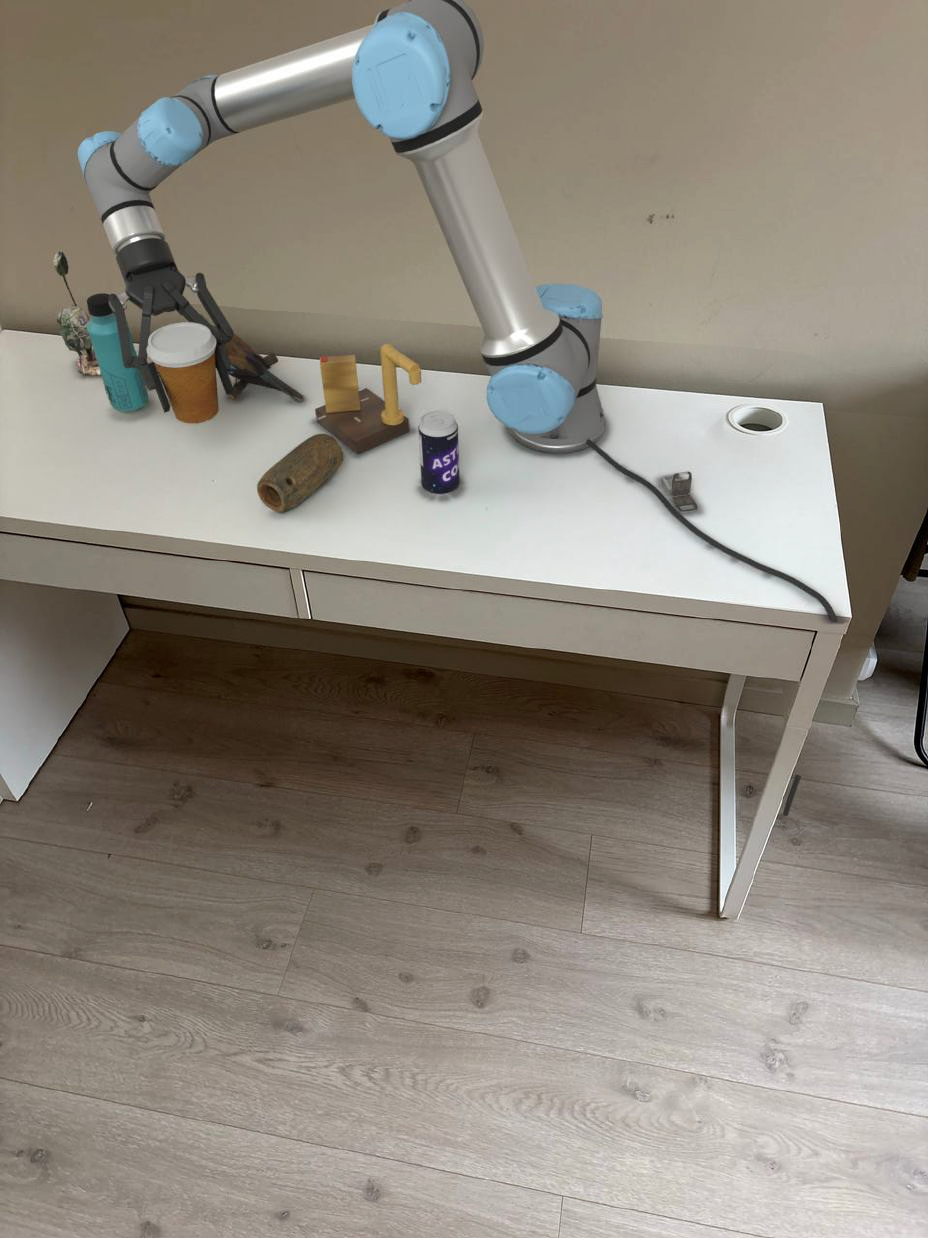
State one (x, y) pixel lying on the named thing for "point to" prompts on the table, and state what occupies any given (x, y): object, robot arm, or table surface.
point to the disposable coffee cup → (187, 369)
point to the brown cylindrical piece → (300, 472)
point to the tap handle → (340, 383)
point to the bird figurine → (253, 369)
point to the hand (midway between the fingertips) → (199, 400)
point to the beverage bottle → (114, 357)
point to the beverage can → (439, 452)
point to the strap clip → (680, 491)
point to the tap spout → (395, 382)
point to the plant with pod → (75, 326)
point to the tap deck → (361, 424)
